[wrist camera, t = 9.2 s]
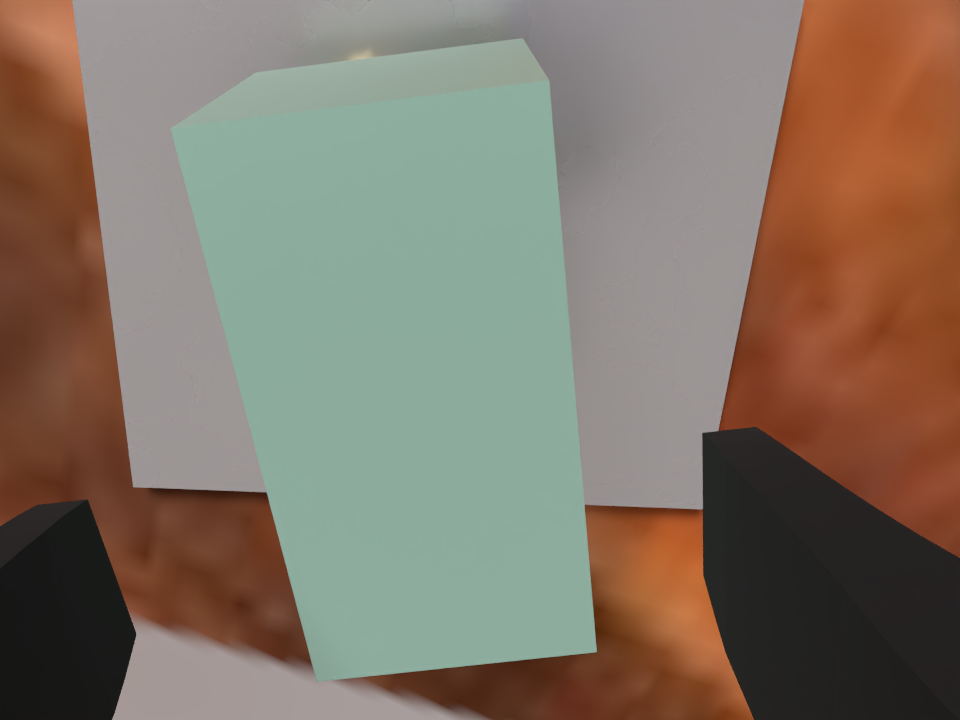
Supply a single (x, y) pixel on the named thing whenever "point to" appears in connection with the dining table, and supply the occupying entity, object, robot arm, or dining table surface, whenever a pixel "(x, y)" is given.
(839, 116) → the dining table surface
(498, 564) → the mint green cuboid
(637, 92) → the plate
